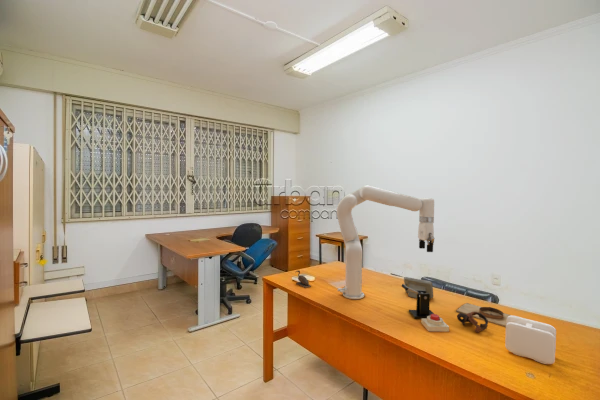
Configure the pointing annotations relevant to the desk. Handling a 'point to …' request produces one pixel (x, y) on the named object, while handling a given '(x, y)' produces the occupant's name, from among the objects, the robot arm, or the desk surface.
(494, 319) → the board
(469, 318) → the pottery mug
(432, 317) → the button
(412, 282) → the digital clock
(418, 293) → the lever
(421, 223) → the robot arm
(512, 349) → the cable organizer
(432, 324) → the control block
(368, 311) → the desk surface
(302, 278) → the figurine
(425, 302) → the bracket
